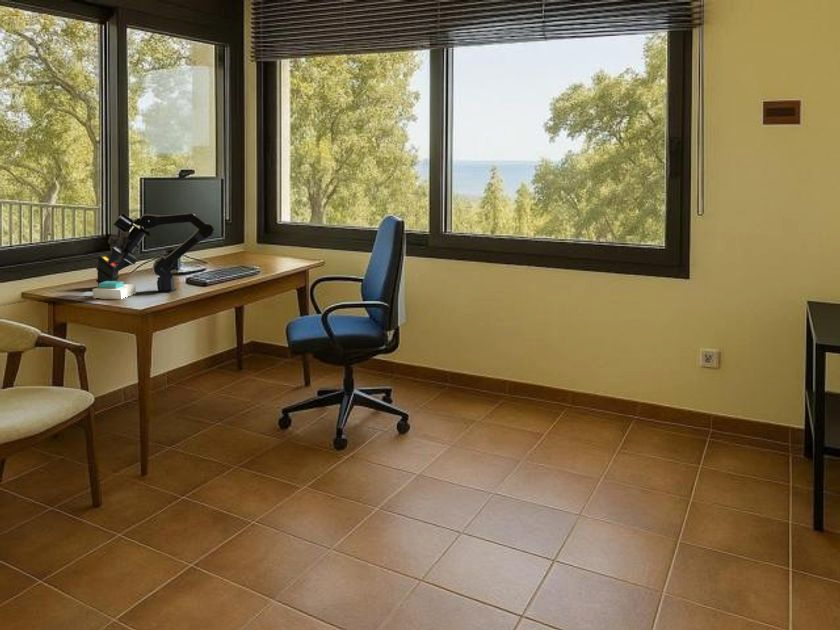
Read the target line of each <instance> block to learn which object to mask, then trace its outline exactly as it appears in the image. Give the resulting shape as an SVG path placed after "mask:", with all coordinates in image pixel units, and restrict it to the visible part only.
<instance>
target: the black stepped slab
mask: <svg viewBox="0 0 840 630" xmlns="http://www.w3.org/2000/svg"><path fill="white" fill-rule="evenodd" d="M109 258H110V256H108V255H107V254H102V255H99V257H97V260H98V263H97V267H96V270H97V277H96V278H97V279H96V283H97V288H98V287H99V283H102V282H105V281H119V280H118V279H120V276H119V273H120V272H119V271H121V270H119V271H117V272H115V271H114V269H115V268H116V266H117V264H118V263H116V261H114V262H113V263H112V264H110V265H109V264H107V263H108V260H109Z"/></svg>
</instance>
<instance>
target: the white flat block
mask: <svg viewBox="0 0 840 630" xmlns="http://www.w3.org/2000/svg"><path fill="white" fill-rule="evenodd" d="M91 290H92V292H93V297H92V299H96V298H100V299H99V300H124V299H126V298H129V297H131V296H133V294H134V295H136V294H137V288H136V284H127V283H126V284H125V283H124V286H123V287H120V288H117V289H108V288H99V287H98V286H97V287H95V288H92V289H91ZM128 296H129V297H128ZM125 297H126V298H125ZM123 298H124V299H123Z"/></svg>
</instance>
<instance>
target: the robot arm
mask: <svg viewBox="0 0 840 630" xmlns="http://www.w3.org/2000/svg"><path fill="white" fill-rule="evenodd" d="M183 223H190V224H192V225H194V226H195V227H196V229H195V231H194V232H193V234H192V235H190V237H188V238H186V240H185V241H184V242H183V243H181V244H180V245H179V246H178V247H176V248H174V250H173V251H172V252H171V253H169V254H168V255H166V256H163V255H162V254H161V255H160V256H159V257H158V258H157V259H155V260H154V263H153V264H152V270H153V271H154V272H153V273H155V274H156V275H158V276H159V277H157V281H156V286H157V288H156V289H157V290H156V292H158V293H172V292H174V291H177V288H175V277H174V276H173V275H174V273H173V272H172V270H171V268H172V266H173V265H174V264H175V263H176V262H177V261H178V260H179V259H180V258H182V257H183V256H184V255H185V254H186V253H187V252H189V250H191V249H192V248H193V247H195V246H196V245H197V244H198V243H200V242H202V241H205V240H206V239H209V237H212V235H213V234H214V231H215V230H214V229H215V228H214V226H213V225H211V224H210V223H208V222H204V221H202V220H201V219H200V218H198V217H197V216H196V214H194V213H193V212H187V213H177V214H176V213H175V214H167V215H165V214H163V215H159V214H150V213H149V214H148V213H145V214H142V215H141V216H140V217H139V218H135V219H132V218H131V217H129V216H128V215H126V213H124V212H122V213H121V214H120V215H119V216H118V217H117V218H116V219H115V221H114V222H113V223H112V226H113V227H115V228H116V229H118V230H120V231H121V232H123V233H128V234H127V235H123V237H119V236H113V235H109V237H108V241H107V244H109V248H110V251H111V252H110V256H109V260H108V263H107V264H109V265H110V264H112V263H113V262H116V261H118V260H119V261H118V262H117V263H116V264H117V266H116V268H115V269H114V271H115V272H117V271H119V270H120V271H121V270H123V269H125V268H128V267H129V266H133V265H135V264H136V263H137V262H138V259H137V257H136V256H135V255H134V250H136V248H139V247H140V245H139V244H140V243H141V241H142V240H143V239H144V238H145V236H147V237H148V238H150V237H151V234H150V232H151V231H150V229H152V228H156V227H159V226H162V225H170V224H172V225H173V224H183ZM130 230H131V231H130Z"/></svg>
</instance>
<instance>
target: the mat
mask: <svg viewBox="0 0 840 630" xmlns="http://www.w3.org/2000/svg"><path fill="white" fill-rule="evenodd" d="M76 296H87V297H86V298H93V291H85V292H82V293H79V294H76V295H75V297H76Z"/></svg>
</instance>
